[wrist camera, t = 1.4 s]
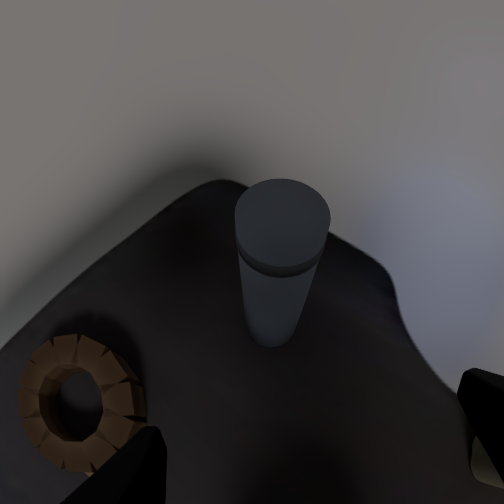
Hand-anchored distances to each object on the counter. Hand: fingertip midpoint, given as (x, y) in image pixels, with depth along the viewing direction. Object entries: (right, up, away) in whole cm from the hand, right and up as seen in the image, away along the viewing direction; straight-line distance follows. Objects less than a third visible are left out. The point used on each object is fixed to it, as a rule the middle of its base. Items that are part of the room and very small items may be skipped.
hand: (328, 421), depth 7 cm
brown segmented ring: (-14, -7, +11) cm, 20 cm away
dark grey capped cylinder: (-1, -1, +15) cm, 15 cm away
